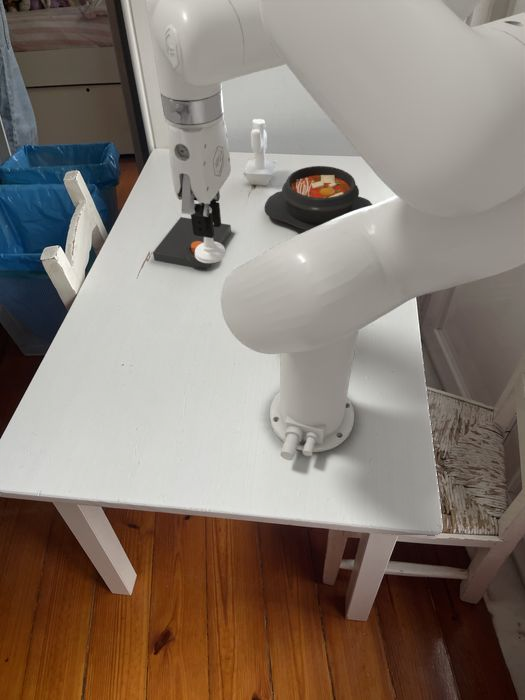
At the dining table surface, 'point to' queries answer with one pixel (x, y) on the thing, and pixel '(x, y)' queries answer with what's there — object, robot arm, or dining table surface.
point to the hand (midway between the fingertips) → (207, 229)
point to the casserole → (315, 197)
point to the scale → (186, 244)
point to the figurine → (259, 156)
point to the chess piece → (209, 249)
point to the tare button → (195, 245)
